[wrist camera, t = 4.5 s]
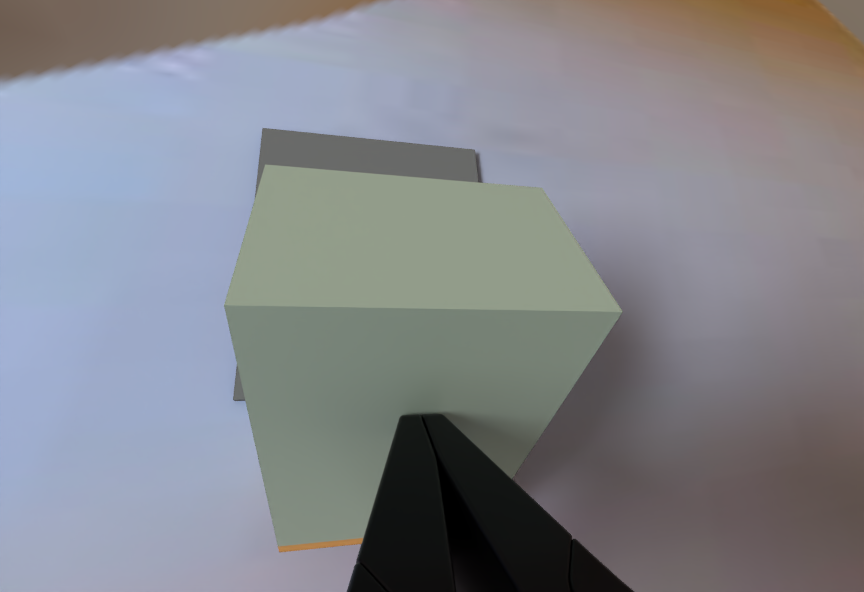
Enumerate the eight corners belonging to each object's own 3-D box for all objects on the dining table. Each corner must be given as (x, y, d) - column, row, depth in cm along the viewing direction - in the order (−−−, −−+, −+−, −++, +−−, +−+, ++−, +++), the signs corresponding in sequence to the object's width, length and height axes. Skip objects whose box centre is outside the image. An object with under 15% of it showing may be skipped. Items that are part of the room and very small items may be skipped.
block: (477, 531, 14) (622, 311, 7) (279, 552, 12) (223, 305, 6) (454, 419, 16) (542, 188, 10) (292, 426, 15) (265, 164, 8)
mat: (501, 393, 17) (503, 391, 17) (235, 400, 15) (233, 399, 15) (472, 153, 22) (474, 149, 21) (263, 132, 19) (262, 128, 19)
